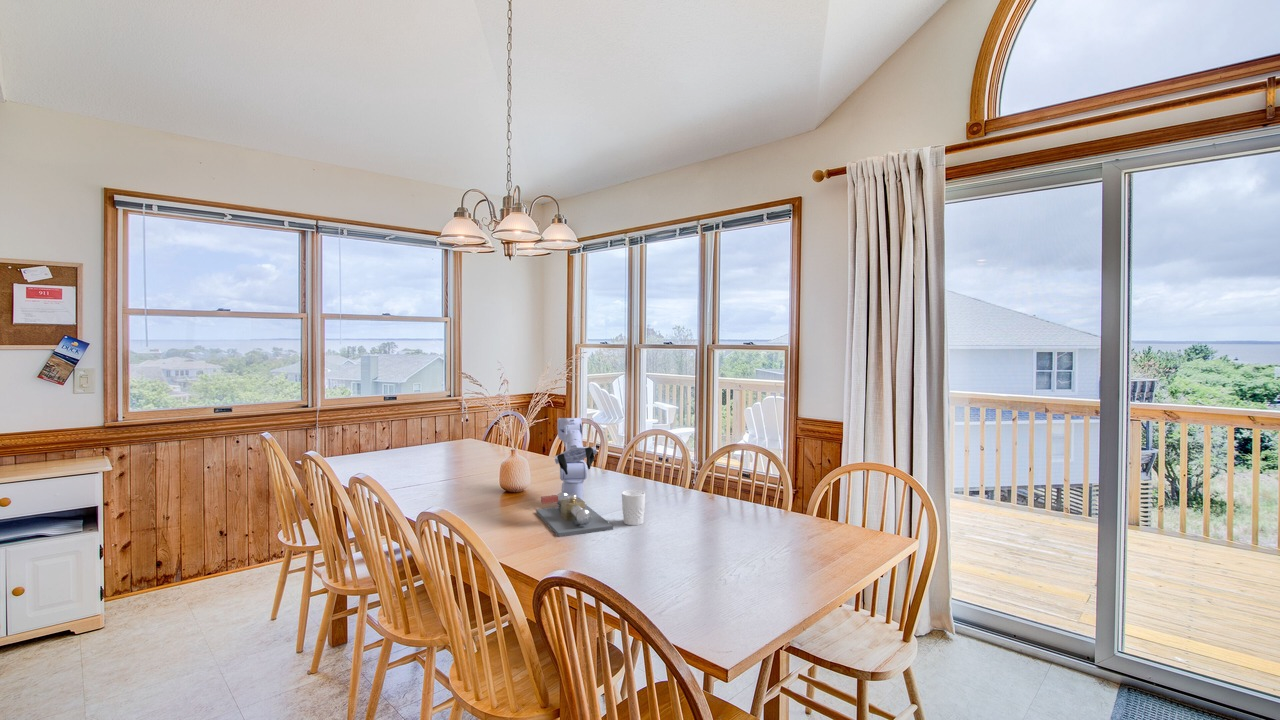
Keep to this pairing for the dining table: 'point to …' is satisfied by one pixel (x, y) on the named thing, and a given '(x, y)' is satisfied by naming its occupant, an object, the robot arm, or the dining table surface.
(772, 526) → the dining table surface
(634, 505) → the white cup
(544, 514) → the mounting board
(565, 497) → the valve lever
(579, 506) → the valve body
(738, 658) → the dining table surface
